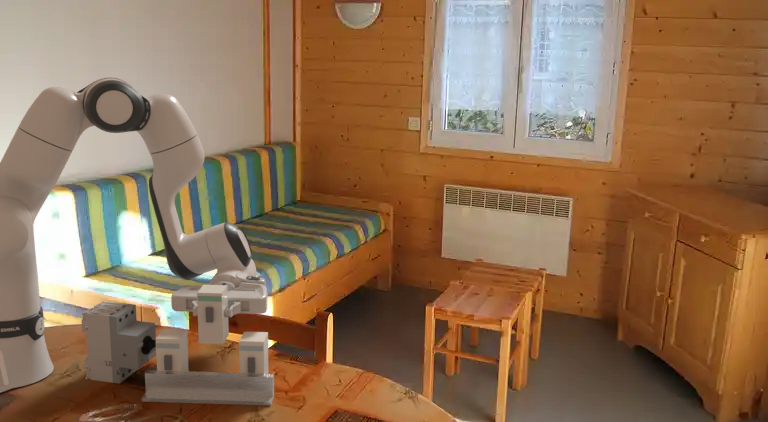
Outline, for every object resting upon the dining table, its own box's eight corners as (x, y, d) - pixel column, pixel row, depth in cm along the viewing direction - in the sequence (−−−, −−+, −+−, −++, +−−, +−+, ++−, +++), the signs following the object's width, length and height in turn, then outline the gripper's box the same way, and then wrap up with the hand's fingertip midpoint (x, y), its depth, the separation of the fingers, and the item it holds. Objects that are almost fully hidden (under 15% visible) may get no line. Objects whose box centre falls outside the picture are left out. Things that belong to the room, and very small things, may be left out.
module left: (156, 394, 145) (154, 340, 142) (165, 381, 150) (163, 329, 148) (181, 395, 145) (179, 340, 142) (189, 382, 150) (187, 329, 148)
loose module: (197, 345, 143) (195, 294, 141) (205, 333, 149) (203, 284, 147) (222, 345, 143) (220, 294, 141) (228, 334, 149) (227, 285, 147)
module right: (239, 397, 145) (238, 342, 142) (245, 384, 150) (244, 331, 148) (263, 397, 145) (263, 343, 142) (268, 384, 150) (268, 332, 148)
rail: (141, 401, 142) (140, 378, 141) (148, 392, 146) (147, 370, 144) (270, 405, 142) (270, 382, 141) (274, 396, 146) (273, 374, 144)
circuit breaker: (146, 387, 148) (143, 319, 145) (85, 379, 151) (80, 312, 147) (164, 371, 155) (161, 307, 152) (105, 364, 158) (101, 301, 155)
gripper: (180, 276, 157) (160, 297, 144) (272, 278, 157) (261, 300, 144) (181, 302, 159) (162, 326, 145) (272, 305, 159) (261, 329, 145)
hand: (212, 313), depth 144 cm, fingers closed on loose module, 5 cm apart
